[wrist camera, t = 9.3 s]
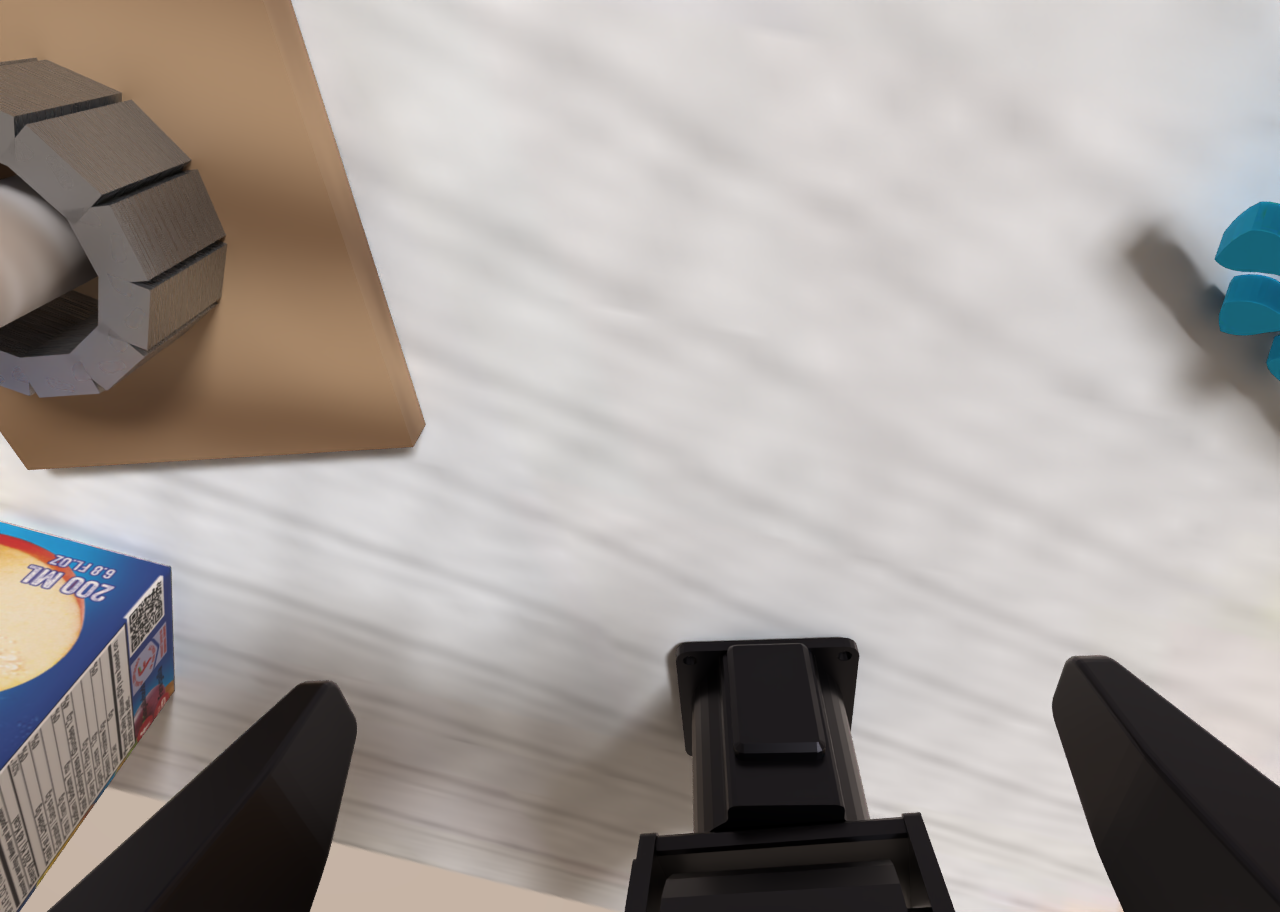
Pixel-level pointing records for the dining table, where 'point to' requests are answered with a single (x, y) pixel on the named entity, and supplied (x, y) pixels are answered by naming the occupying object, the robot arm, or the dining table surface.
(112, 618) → the juice carton
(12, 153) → the hub ring
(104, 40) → the shaft stand
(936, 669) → the dining table surface
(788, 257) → the dining table surface
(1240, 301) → the gear
